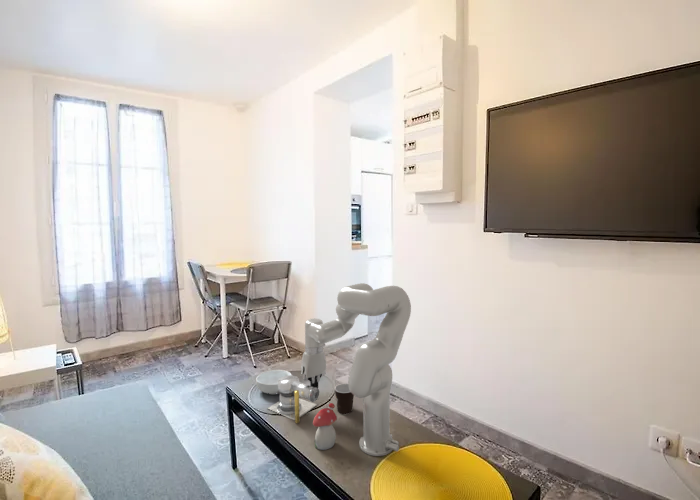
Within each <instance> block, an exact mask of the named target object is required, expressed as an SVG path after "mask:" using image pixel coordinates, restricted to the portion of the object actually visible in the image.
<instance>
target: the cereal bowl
mask: <svg viewBox="0 0 700 500" xmlns="http://www.w3.org/2000/svg"><path fill="white" fill-rule="evenodd" d="M289 375H292V373H291V372H290V371H287V370H284V369H273V370H267V371H264V372H262V373H259V374H258V375H257V376H256V378H255V381H256V383H255V384H256V387H257V388H258V390H259V391H260V392H262V393H264V394H268V393H269V394H268V395H277V394H276V393H278V380H279V379H280V378H281V377H283V376H289Z"/></svg>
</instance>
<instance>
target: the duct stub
mask: <svg viewBox="0 0 700 500" xmlns="http://www.w3.org/2000/svg"><path fill="white" fill-rule="evenodd" d="M315 407H318V406H317V403H315V402H311V401H309V400H307V399H306V400H305V399H304V398H301V397H300V396H299V391H298V390H295V391H294V396H281V395H279V401H277V402H276V403H274V404H272V405H270V406H269V407H267V410H268V409H270V410H269V411H271V410H272V411H271V412H273V411H275V412H277V413H276V414H278V413H279V414H278V415H280V414H281V415H280V416H283V417H286V418H287V419H290V420H293V421H294V422H295V424H298V423H300V421H301V420H300V418H301V417H303V416H304V415H305V414H307V413H309V412H310V411H311V410H313V409H314V408H315ZM275 412H274V413H275Z"/></svg>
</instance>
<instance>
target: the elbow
mask: <svg viewBox="0 0 700 500" xmlns="http://www.w3.org/2000/svg"><path fill="white" fill-rule="evenodd" d="M295 390H298V391H299V398H302V399H304V400H305V399H306V400H307V401H309V402H312V403H315V402H316V401H317V400H318V398H319V395H320V390H319V387H318V388H316V387H312V386H310V385H309V384H306V383H303V382H301V381H300V378H299V377H298V376H297V375H293V374H291V375H289V376H283V377H281V378H280V379H279V380H278V394H277V395H279V396H280V395H281V396H294V391H295Z"/></svg>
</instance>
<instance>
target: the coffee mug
mask: <svg viewBox="0 0 700 500" xmlns="http://www.w3.org/2000/svg"><path fill="white" fill-rule="evenodd" d="M334 395H335V401H336V402H335V403H336V409H337V412H338V414H340V415H349V414H351V413H352V412H353V407H354V406H353V405H354V399H355V396H354V395H353V394H352V393H351V391H350V389H349V384H348V383H339V384H337V385H335V386H334Z"/></svg>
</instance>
